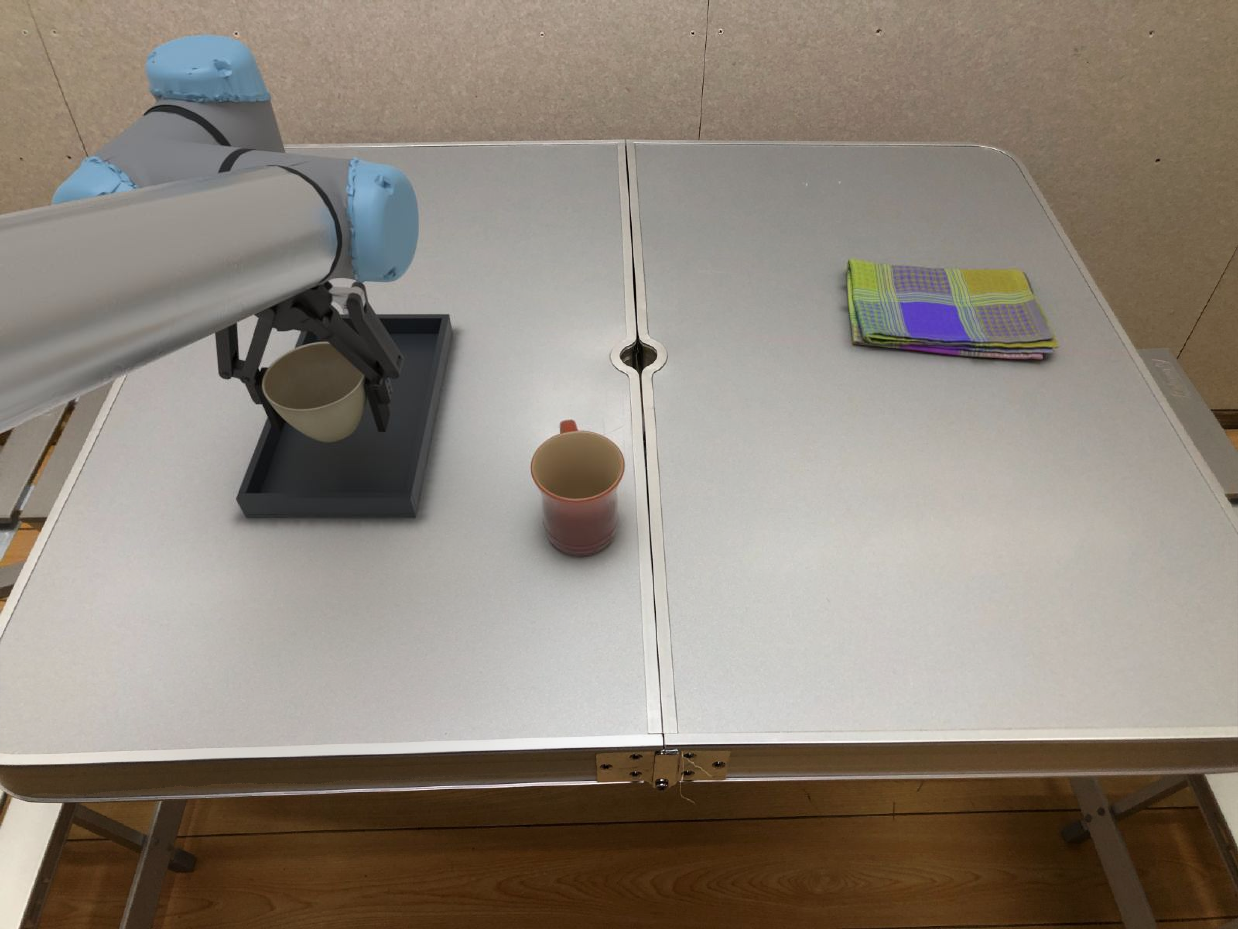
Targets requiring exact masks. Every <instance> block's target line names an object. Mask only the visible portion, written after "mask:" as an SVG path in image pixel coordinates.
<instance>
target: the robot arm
mask: <svg viewBox="0 0 1238 929" xmlns="http://www.w3.org/2000/svg"><path fill="white" fill-rule="evenodd" d="M144 73H145V76H146V79H147V82H148V85H149V89H148V92H150V94H151V96H153V98H154V99H155V103H154V104H153V105H152V106H151V107H149V108H147V110H146V111H145V112H144V113H143V114H142V116H141V117H139V118H138V119H137V120H136V121H134V122H133V123H132V124H130V125H129V126H127V128H125V129H124V130H123V131H121V132H120V133H119V134H117V135H116V136H115V137H113V138H112V139H111V140H110V141H108V142H107V143H106V144H104V145H103V146H102V147H100V148H99V149H98V150H97V151H95V152H94V153H93V154H91V156H87V157H85V158H84V159H83V160H82V161H81V162H80V164H79V167H78V168H77V169H76V170H75V171H74V172H73V173H72V174H71V175H69V177H68V178H66V180H65V181H63V183H61V184H60V185H59V186H58V187H57V188H56V190H55V191H54V193H53V196H52V199H51V204H50V205H45V206H40V207H39V206H38V207H33V208H27V209H23V210H17V211H12V212H7V213H2V214H0V434H2V433H6V432H7V431H9V430H12V429H13V428H16V427H18V426H20V425H22V424H24V423H26V422H28V421H30V420H33V419H35V418H37V417H39V416H41V415H43V414H46V413H48V412H50V411H52V410H53V409H54V410H55V409H56V408H58V407H60V406H62V405H65V404H67V403H69V402H71V401H73V400H75V399H77V398H80V397H81V396H84V395H86V394H88V393H90V392H93V391H94V390H97V389H99V388H101V387H103V386H105V385H107V384H109V383H111V382H114V381H116V380H117V379H120V378H122V377H124V376H126V375H129V374H130V373H132V372H135V371H137V370H139V369H141V368H143V367H145V366H148V365H150V364H152V363H154V362H156V361H158V360H160V359H162V358H165V357H167V356H169V355H171V354H173V353H175V352H178V351H180V350H182V349H184V348H186V347H187V346H190V345H193V344H194V343H197V342H198V341H200V340H203V339H205V338H207V337H209V336H211V335H214V337H215V349H216V359H217V361H216V362H217V371H218V376H219V377H220V378H221V379H223V380H231V379H232V378H234V379H238V380H239V381H240V382H241V383H243V384H244V385H245V387H246V390H247V392H248V394H249V396H250V398H251V401H252V402H253V403H254V404H255V405H261V406H262V408H263V410H264V412H265V414H266V418H267V417H268V419H269V421H270V423H271V426H272V428H273V430H274V432H282V430H283V427H284V425H285V422H286V420H284V419H283V418H282V417H281V416H280V415H279V414H278V413H277V411H276V410H275V409H274V408H273V407H272V405H271V404H270V403H269V401H268V400H267V398H266V396H265V395H264V393H263V390H262V380H263V377H264V374H265V372H266V370H267V369H268V368H269V366H265V367H264V366H263V367H261V368H260V366H261V363H262V360H263V357H264V354H265V351H266V348H267V345H268V342H269V339H270V336H271V333H272V330H273V329H275V330H276V331H277V332H290V331H298V332H301V331H312V332H313V333H314V334H315V335H316V336H317V337H318V338H319V339H321V340H326V341H328V342H329V343H330V344H331V345H332V346H333V347H334V348H335V349H336V350H337V351H338V352H340V353H341V354H342V355H343V356H344V357H345V358H346V359H347V360H348V361H349V362H350V363H352V364H353V365H354V366H355V367H356V368H357V369H358V370H359V371H360V372H361V373H362V374H364V375H365V376H366V380H365V384H364V388H365V391H366V394H367V397H368V400H369V404H370V407H371V410H372V413H373V416H374V420H375V423H376V426H377V429H378V432H386V429H387V425H388V421H389V417H390V411H389V407H388V404H389V403H390V400H391V396H392V392H393V390H392V387H391V383H390V379H389V377H390V378H392V379H397V378H399V376H400V372H401V368H402V364H403V360H404V357H403V355H402V354H401V352H400V351H399V349H398V348H397V346H396V344H395V343H394V341H393V340H392V338H391V337H390V335H389V334H388V332H387V330H386V329H385V327H384V326H383V324H382V323H381V321H380V320H379V318H378V316H377V315H376V314H377V313H376V311H375V310H374V309H373V306H372V305H371V303H370V302H369V298H368V293H367V287H366V285H365V284H364V283H365V282H368V283H369V282H370V283H371V282H372V283H392V282H395V281H397V280H399V279H400V278H402V277H403V276H404V275H405V274H406V272H407V271H408V270H409V268H410V267H411V265H412V262H413V261H414V258H415V255H416V251H417V246H418V241H419V233H420V218H419V217H420V216H419V205H418V200H417V195H416V192H415V189H414V187H413V185H412V182H411V181H410V179H409V178H408V177H407V175H406V174H405V172H403V171H402V170H401V169H399V168H397V167H396V166H394V165H390V164H383V163H378V162H371V161H367V160H362V159H361V158H359V157H353V156H352V157H351V159H350V158H343V157H342V158H341V157H330V156H320V155H310V154H299V153H298V154H297V153H289V152H286V150H285V146H284V142H283V139H282V134H281V132H280V129H279V128H280V127H279V125H278V122H277V118H276V115H275V112H274V108H273V104H272V101H271V100H272V95H271V93H270V91H268V88H267V86H266V84H265V81H264V78H263V76H262V74H261V71H260V68H259V65H258V63H257V61H256V57H255V55H254V54H253V52H252V50H250V48H249V47H248V46H247V45H245V43H243V42H241V41H240V40H237V39H235V38H233V37H230V36H225V35H220V34H219V35H218V34H196V35H189V36H183V37H179V38H175V39H172V40H170V41H167V42H164V43H161V44H160V45H158V46H156V47H155V48H154V49H153V50H152V51H150V52H149V53H148V55H147V57H146V62H145V65H144ZM334 279H335V280H336V279H348V280H353V281H354V282H353V283H351V286H350V287H348V286H347V287H345V286H334V285H333V284H332V283H331V281H332V280H334ZM332 303H336V304H338V305H339V306H340V308H341V309H342V313H343V314H349V316H350V319H351V321H352V323H353V325H354V326H355V328H356V329H357V331H358V332H359V334H360V335H361V337H362V338H363V339H362V338H361V337H360V336H359V335H358V334H357V333H356V332H355V331H354V330H353V329H352V328H351V327H350V326H349V325H348V324H347V323H346V322H345V321H343V320H342V319H341V317H340V312H339V310H338V309H337V308H336V307H335V306H334V305H333V304H332ZM252 316H254V317H256V318H257V321H256V325H255V326H254V331H253V334H252V338H251V341H250V344H249V348H248V351H247V354H246V357H245V360H244V359H241V358H240V350H239V334H238V333H239V332H238V322H241V321H243V320H245V319H247V318H250V317H252ZM323 317H324V319H323ZM322 319H323V322H321V321H322Z"/></svg>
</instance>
